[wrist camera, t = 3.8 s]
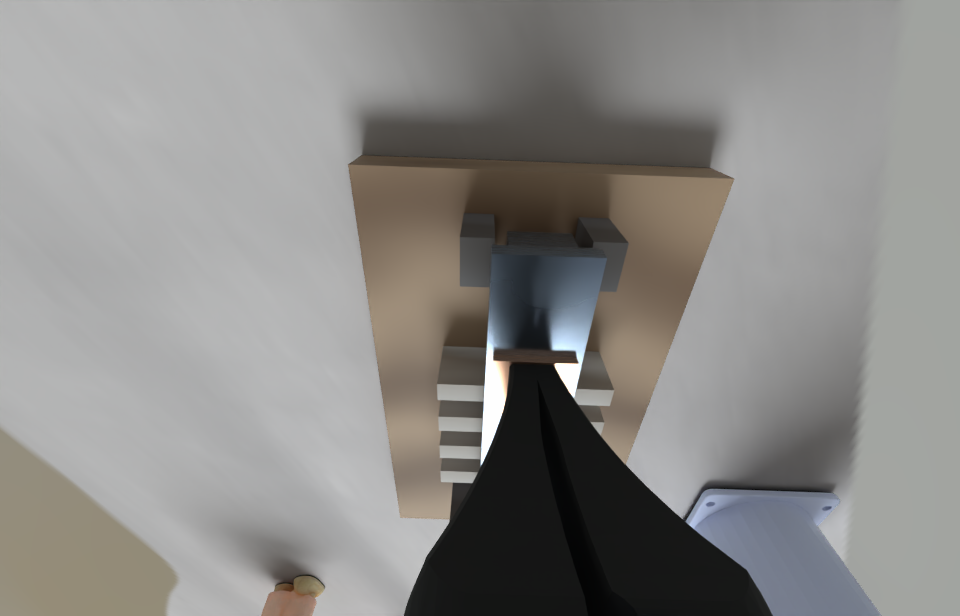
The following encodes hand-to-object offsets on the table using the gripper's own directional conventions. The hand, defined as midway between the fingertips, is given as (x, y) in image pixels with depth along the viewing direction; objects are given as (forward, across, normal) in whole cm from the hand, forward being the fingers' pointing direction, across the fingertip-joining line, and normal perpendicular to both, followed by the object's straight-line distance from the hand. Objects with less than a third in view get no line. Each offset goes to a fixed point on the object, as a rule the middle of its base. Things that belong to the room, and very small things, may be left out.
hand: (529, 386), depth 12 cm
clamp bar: (+2, 0, +3) cm, 4 cm away
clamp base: (+5, 0, +4) cm, 6 cm away
